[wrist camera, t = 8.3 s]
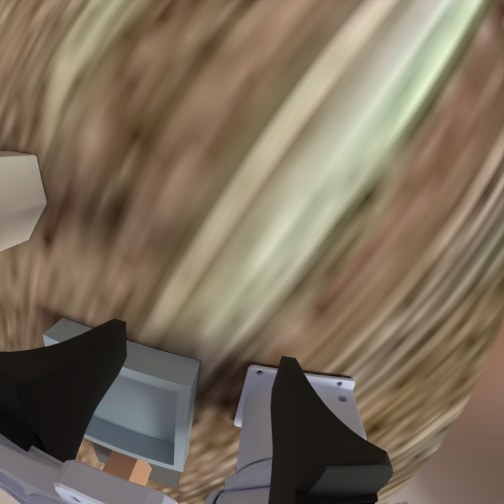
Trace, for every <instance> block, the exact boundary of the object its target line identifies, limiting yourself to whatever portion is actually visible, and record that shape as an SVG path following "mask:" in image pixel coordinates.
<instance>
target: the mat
mask: <svg viewBox="0 0 504 504" xmlns="http://www.w3.org/2000/svg"><path fill="white" fill-rule="evenodd" d="M92 442H93V441H92ZM93 445H94V448H95V451H96V454H97V457H98V460H99V461H100V462H102V463H105V464H106V462H107V460H108V458H109V456H110V454H111V452H112V449H109V448H107V447H104V446H102V445H99V444H97V443H95V442H93ZM148 464H149V465H150V467H151V468H152V470H151V472H150V475H149V478H148V480H152V481H155V482H158V483H162V484H165V485H169V486H172V487H176V488H178V480H179V471H176V470H172V469H168V468H165V467H161V466H158V465H155V464H151V463H148Z"/></svg>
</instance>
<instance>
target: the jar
mask: <svg viewBox="0 0 504 504" xmlns="http://www.w3.org/2000/svg"><path fill="white" fill-rule="evenodd" d="M46 205H47V200H46V197H45V193H44V188H43V184H42V180H41V175H40V171H39V166H38V161H37V156H36V155H32V154H26V153H19V152H13V151H0V252H1V251H3V250H5V249H8V248H10V247H12V246H15V245H17V244H20V243H22V242H25V241H27V240H29V239H30V237H31V234H32V232H33V230H34V228H35V226H36V224H37V222H38V220H39V218H40V216H41V214H42V212H43V210H44V208H45V207H46Z"/></svg>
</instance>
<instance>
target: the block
mask: <svg viewBox="0 0 504 504" xmlns="http://www.w3.org/2000/svg"><path fill="white" fill-rule="evenodd" d="M151 470H152V468H151V467H150V465H149V464H148V462H145V461H142V460H139V459H136V458H133V457H130V456H128V455H125V454H122V453H119V452H117V451H114V450H112V452H111V454H110V456H109V458H108V460H107V462H106V464H105V466H104V468H103V470H102V471H104V472H107V473H109V474H112V475H115V476H117V477H120V478H123V479H125V480H128V481H131V482H134V483H137V484H140V485H143V486H146V483H147V481H148V478H149V475H150V472H151Z"/></svg>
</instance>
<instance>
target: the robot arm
mask: <svg viewBox="0 0 504 504" xmlns="http://www.w3.org/2000/svg"><path fill="white" fill-rule="evenodd" d="M126 358H127V341H126V322H124V321H121V320H117V319H113V320H110V321H108V322H106V323H104V324H102V325H99V326H97V327H95V328H93V329H91V330H89V331H87V332H85V333H83V334H80V335H78V336H75V337H73V338H70V339H68V340H66V341H63V342H60V343H57V344H53V345H50V346H46V347H42V348H37V349H31V350H25V351H14V352H0V488H1V489H2V490H4V491H5V492H6V493H8V494H9V495H10V496H11V497H13V498H14V499H15V500H17V501H18V502H19V503H21V504H178V503H177V502H176V500H175V499H173V498H172V497H170V496H168V495H167V494H165V493H163V492H160V491H157V490H155V489H152V488H150V487H147V486H143V485H140V484H137V483H134V482H131V481H128V480H125V479H123V478H120V477H117V476H115V475H112V474H109V473H107V472H104V471H102V470H99V469H97V468H95V467H92V466H90V465H88V464H85V463H82V462H79V461H77V460H75V459H76V456H77V453H78V450H79V447H80V445H81V442H82V439H83V437H84V434H85V432H86V429H87V427H88V425H89V423H90V420H91V418H92V416H93V414H94V412H95V410H96V408H97V407H98V405H99V403H100V402H101V400H102V399H103V397H104V396H105V394H106V393H107V391H108V390H109V388H110V387H111V385H112V384H113V382H114V381H115V379H116V377H117V376H118V374H119V373H120V371H121V369H122V367H123V365H124V362H125V360H126ZM258 371H262V372H258ZM338 382H341V383H338ZM354 386H355V381H354V379H352V378H343V377H333V376H325V375H317V374H309V373H304V372H303V370H302V369H301V367H300V365H299V363H298V361H297V360H296V358H291V357H285V356H282V357H281V361H280V364H279V367H278V369H276V368H270V367H265V366H259V365H250V366H249V367H248V370H247V374H246V378H245V382H244V386H243V389H242V393H241V397H240V401H239V404H238V408H237V412H236V416H235V419H234V425H236V426H238V427H241V434H240V442H239V451H238V459H237V467H236V474H235V475H231V476H226V478H225V485H224V489H217V490H215V491H213V492H212V493H210V495H209V496H208V497H207V499H206V501H205V503H204V504H375V503H376V502H377V501H378V497H377V492H378V491H379V490H380V489H381V488H382V487H383V486H384V485H385V484H386V483H387V482H388V481H389V480H390V479H391V477H392V475H393V469H392V466H391V462H390V459H389V457H388V454H387V452H386V451H384V450H382V449H381V448H379V447H377V446H375V445H373V444H371V443H370V442H368V441H367V440H366V434H365V430H364V427H363V424H362V420H361V417H360V414H359V410H358V407H357V404H356V401H355V397H354V394H353V391H352V390H353V388H354ZM397 504H409V503H408V502H403V503H397Z"/></svg>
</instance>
